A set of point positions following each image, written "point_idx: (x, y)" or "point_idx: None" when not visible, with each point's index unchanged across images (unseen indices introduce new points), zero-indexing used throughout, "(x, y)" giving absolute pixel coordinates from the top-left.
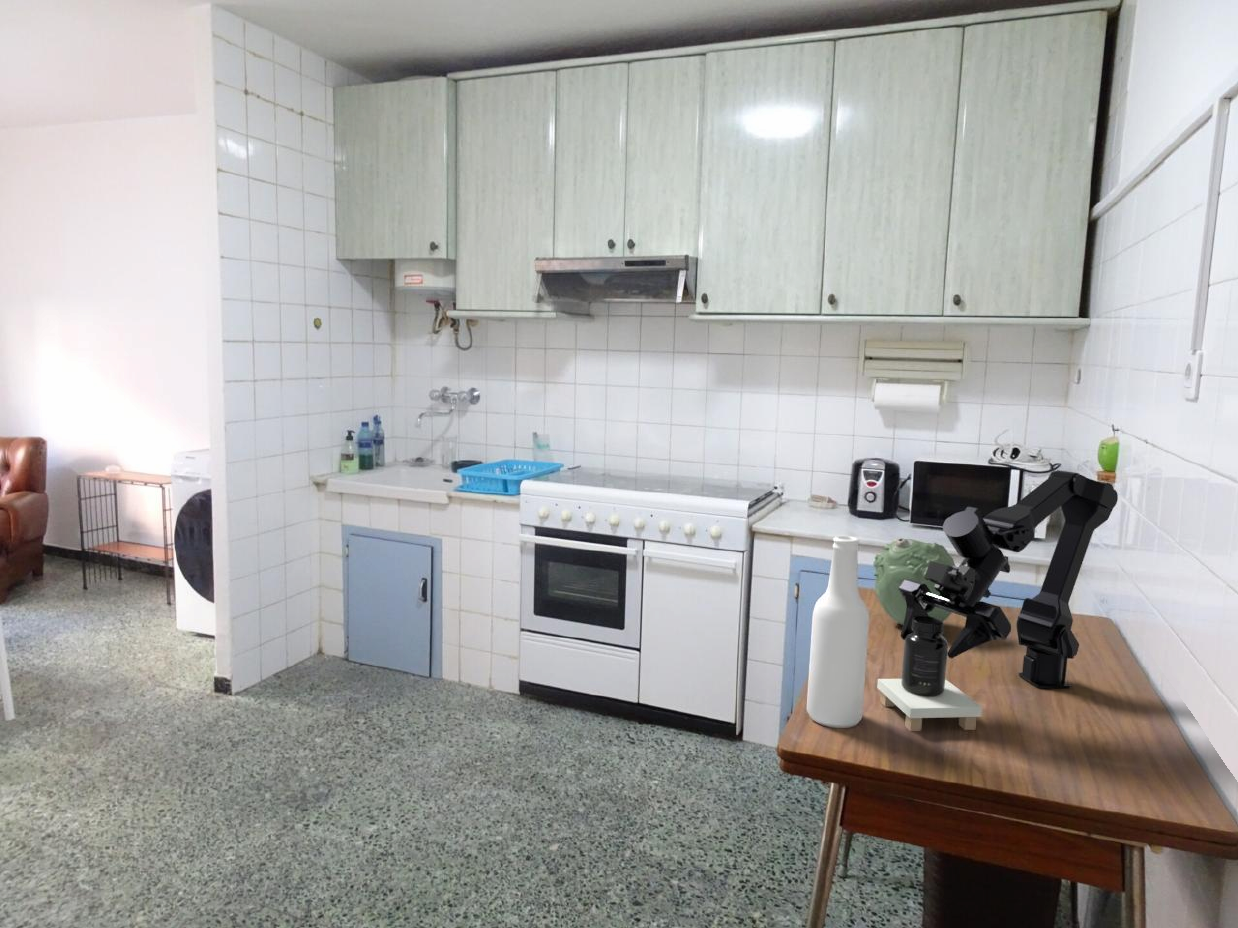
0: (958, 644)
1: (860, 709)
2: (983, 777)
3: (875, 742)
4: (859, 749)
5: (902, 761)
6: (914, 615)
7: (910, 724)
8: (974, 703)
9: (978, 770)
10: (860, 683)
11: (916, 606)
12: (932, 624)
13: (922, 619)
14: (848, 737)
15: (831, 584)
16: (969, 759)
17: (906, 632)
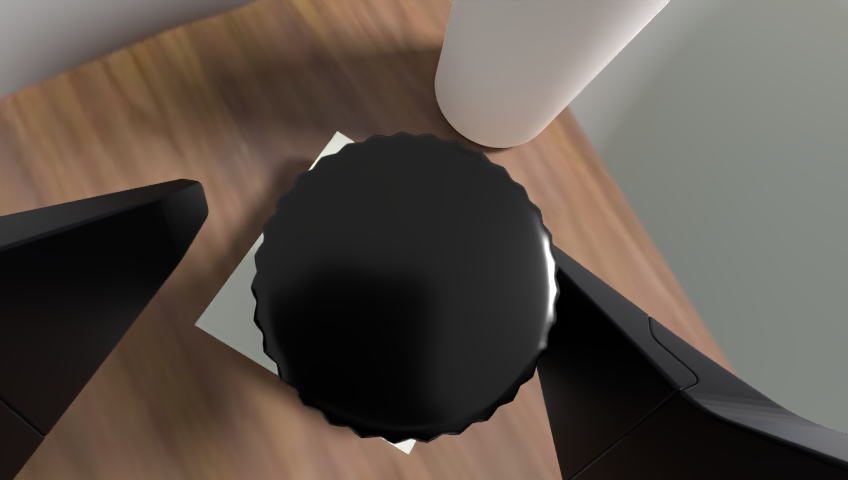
0: (78, 200)
1: (440, 79)
2: (121, 93)
3: (365, 63)
4: (366, 13)
5: (280, 31)
6: (620, 385)
7: None
8: (226, 331)
9: (143, 114)
10: (454, 9)
11: (720, 472)
12: (309, 189)
13: (462, 251)
14: (413, 41)
15: None
16: (181, 147)
17: None
